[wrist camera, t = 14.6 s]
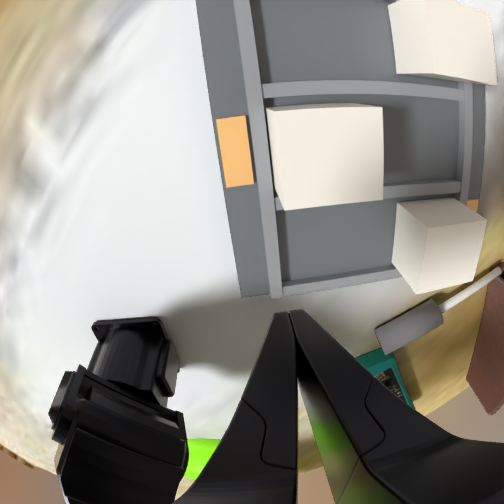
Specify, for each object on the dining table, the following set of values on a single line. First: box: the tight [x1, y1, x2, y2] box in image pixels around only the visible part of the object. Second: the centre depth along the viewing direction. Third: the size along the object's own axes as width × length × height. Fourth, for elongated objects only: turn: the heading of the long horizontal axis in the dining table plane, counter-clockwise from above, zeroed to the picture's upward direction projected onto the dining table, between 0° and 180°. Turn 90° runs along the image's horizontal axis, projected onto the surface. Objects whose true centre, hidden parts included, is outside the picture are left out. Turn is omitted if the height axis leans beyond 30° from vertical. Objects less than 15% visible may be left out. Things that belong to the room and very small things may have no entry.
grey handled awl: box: [374, 267, 502, 355], centre depth 24 cm, size 14×3×3 cm
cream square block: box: [388, 0, 497, 86], centre depth 12 cm, size 5×5×4 cm
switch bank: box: [196, 0, 485, 299], centre depth 17 cm, size 19×20×2 cm
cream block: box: [265, 103, 384, 211], centre depth 15 cm, size 5×5×4 cm
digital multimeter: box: [356, 348, 415, 409], centre depth 30 cm, size 7×15×3 cm, turn 32°
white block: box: [392, 198, 487, 295], centre depth 18 cm, size 5×5×4 cm
